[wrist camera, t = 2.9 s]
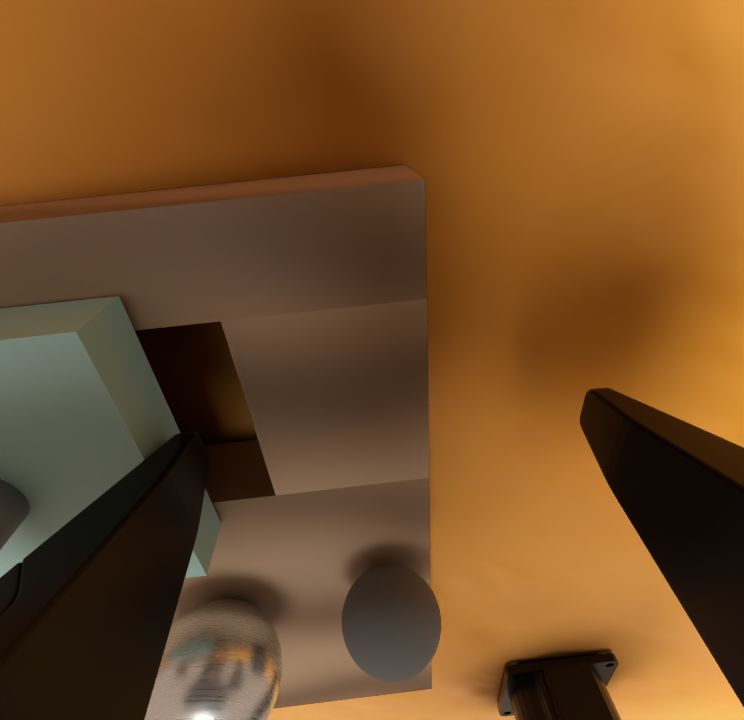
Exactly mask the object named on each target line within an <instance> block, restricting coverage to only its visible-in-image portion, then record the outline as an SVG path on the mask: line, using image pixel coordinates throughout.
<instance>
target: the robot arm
mask: <svg viewBox="0 0 744 720" xmlns="http://www.w3.org/2000/svg"><path fill="white" fill-rule="evenodd" d="M580 425H581V428H582V430H583V432H584V434H585V437H586V439H587V441H588V443H589V445H590V447H591V449H592V451H593V454H594V456H595V458H596V460H597V462H598V464H599V466H600V468H601V471H602V473H603V475H604V477H605V479H606V481H607V483H608V485H609V486H610V488H611V490H612V492H613V493H614V495H615V497H616V498H617V500H618V502H619V503H620V505H621V507H622V508H623V510H624V512H625V513H626V515H627V516H628V518H629V520H630V521H631V523H632V525H633V526H634V528H635V530H636V531H637V533H638V534H639V536H640V538H641V539H642V541H643V543H644V544H645V546H646V548H647V549H648V551H649V553H650V554H651V556H652V557H653V559H654V561H655V562H656V564H657V566H658V567H659V569H660V571H661V572H662V574H663V575H664V577H665V579H666V580H667V582H668V584H669V585H670V587H671V589H672V590H673V592H674V594H675V595H676V597H677V598H678V600H679V602H680V603H681V605H682V607H683V608H684V610H685V612H686V613H687V615H688V616H689V618H690V620H691V621H692V623H693V625H694V626H695V628H696V630H697V631H698V633H699V634H700V636H701V638H702V639H703V641H704V643H705V644H706V646H707V648H708V649H709V651H710V653H711V654H712V656H713V657H714V659H715V661H716V662H717V664H718V666H719V667H720V669H721V671H722V672H723V674H724V675H725V677H726V679H727V680H728V682H729V684H730V685H731V687H732V689H733V690H734V692H735V694H736V695H737V697H738V698H739V700H740V702H741V703H742V705H743V707H744V448H743V447H741V446H739V445H736V444H734V443H732V442H730V441H727V440H725V439H723V438H721V437H718V436H716V435H714V434H712V433H709V432H707V431H705V430H703V429H700V428H698V427H696V426H693V425H691V424H689V423H687V422H684V421H682V420H680V419H678V418H675V417H673V416H671V415H669V414H666V413H664V412H662V411H659V410H657V409H655V408H653V407H650V406H648V405H646V404H644V403H641V402H639V401H637V400H635V399H632V398H630V397H628V396H626V395H623V394H621V393H619V392H617V391H614V390H612V389H610V388H597V389H590V390H589V391H588V392H587V393H586V395H585V399H584V403H583V407H582V411H581V415H580ZM208 470H209V460H208V456H207V454H206V452H205V449H204V447H203V444H202V442H201V439H200V437H199V435H198V434H197V433H196V432H186V433H179V434H176V435H174V436H173V437H172V438H171V439H169V440H168V441H167V442H166V443H165V444H163V445H162V446H161V447H160V448H158V449H157V450H156V451H155V452H154V453H152V454H151V455H150V456H149V457H147V458H146V459H145V460H144V461H142V462H141V463H140V464H139V465H138V466H136V467H135V468H134V469H133V470H131V471H130V472H129V473H128V474H127V475H125V476H124V477H123V478H122V479H120V480H119V481H118V482H117V483H116V484H114V485H113V486H112V487H111V488H109V489H108V490H107V491H106V492H105V493H103V494H102V495H101V496H100V497H98V498H97V499H96V500H95V501H94V502H92V503H91V504H90V505H89V506H87V507H86V508H85V509H84V510H82V511H81V512H80V513H79V514H78V515H76V516H75V517H74V518H73V519H71V520H70V521H69V522H68V523H67V524H65V525H64V526H63V527H62V528H60V529H59V530H58V531H57V532H55V533H54V534H53V535H52V536H51V537H49V538H48V539H47V540H46V541H44V542H43V543H42V544H41V545H40V546H38V547H37V548H36V549H35V550H33V551H32V552H31V553H30V554H29V555H27V556H26V557H25V558H24V559H23V561H22V562H19V563H17V564H16V565H15V566H14V567H12V568H11V569H10V570H9V571H8V572H6V573H5V574H4V575H3V576H1V577H0V720H145V716H146V713H147V709H148V706H149V702H150V699H151V695H152V692H153V688H154V685H155V681H156V678H157V674H158V671H159V667H160V664H161V660H162V657H163V653H164V650H165V646H166V643H167V639H168V636H169V632H170V629H171V625H172V622H173V618H174V615H175V611H176V608H177V604H178V601H179V597H180V594H181V590H182V587H183V583H184V580H185V576H186V573H187V569H188V566H189V562H190V559H191V555H192V552H193V548H194V545H195V541H196V537H197V533H198V529H199V524H200V518H201V512H202V506H203V500H204V494H205V488H206V482H207V476H208ZM617 666H618V661H617V659H616V657H615V655H614V654H612V653H606V654H598V655H590V656H582V657H574V658H566V659H558V660H550V661H542V662H534V663H526V664H518V665H512V666H509V667H507V668H506V669H505V673H504V678H503V683H502V687H501V692H500V697H499V702H498V710H499V714H500V715H501V716H511V715H514V716H515V719H516V720H621V718H620V716H619V714H618V712H617V710H616V707H615V705H614V703H613V701H612V699H611V697H610V695H609V692H608V690H607V688H606V686H607V684H608V682H609V680H610V679H611V677H612V675H613V673H614V671H615V669H616V667H617Z"/></svg>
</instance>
